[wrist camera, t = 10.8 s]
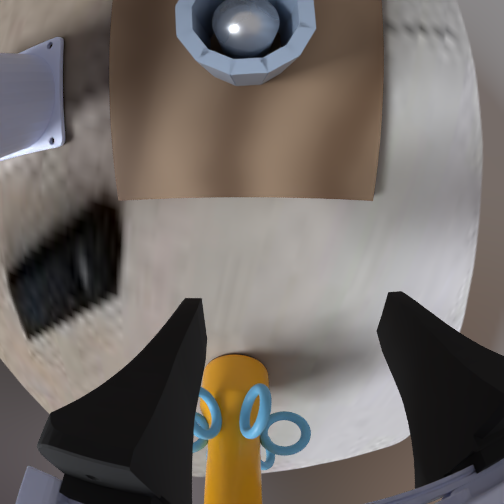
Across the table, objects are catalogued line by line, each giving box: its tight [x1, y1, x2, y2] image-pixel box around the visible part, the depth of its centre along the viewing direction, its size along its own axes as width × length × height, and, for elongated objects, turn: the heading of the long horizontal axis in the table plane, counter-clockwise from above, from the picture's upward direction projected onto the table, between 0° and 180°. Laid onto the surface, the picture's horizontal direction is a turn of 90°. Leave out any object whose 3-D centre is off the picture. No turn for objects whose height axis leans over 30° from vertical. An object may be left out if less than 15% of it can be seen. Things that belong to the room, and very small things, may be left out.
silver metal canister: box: [212, 0, 279, 59], centre depth 11 cm, size 3×3×5 cm
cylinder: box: [193, 354, 311, 504], centre depth 20 cm, size 12×10×15 cm
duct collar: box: [175, 0, 316, 86], centre depth 10 cm, size 5×6×6 cm
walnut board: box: [109, 0, 384, 201], centre depth 14 cm, size 16×18×1 cm
